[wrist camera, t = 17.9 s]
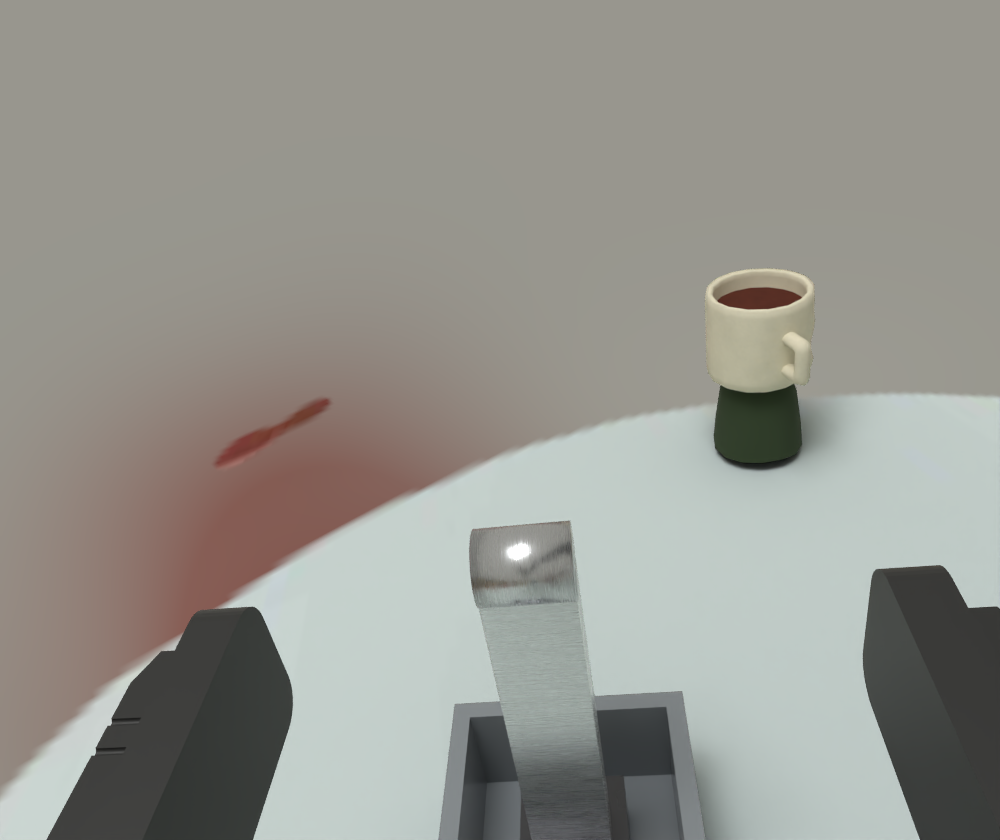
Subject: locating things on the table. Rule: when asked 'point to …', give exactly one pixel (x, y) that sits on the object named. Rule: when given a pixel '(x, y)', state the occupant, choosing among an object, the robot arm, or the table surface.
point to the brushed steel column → (545, 681)
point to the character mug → (759, 360)
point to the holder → (626, 751)
